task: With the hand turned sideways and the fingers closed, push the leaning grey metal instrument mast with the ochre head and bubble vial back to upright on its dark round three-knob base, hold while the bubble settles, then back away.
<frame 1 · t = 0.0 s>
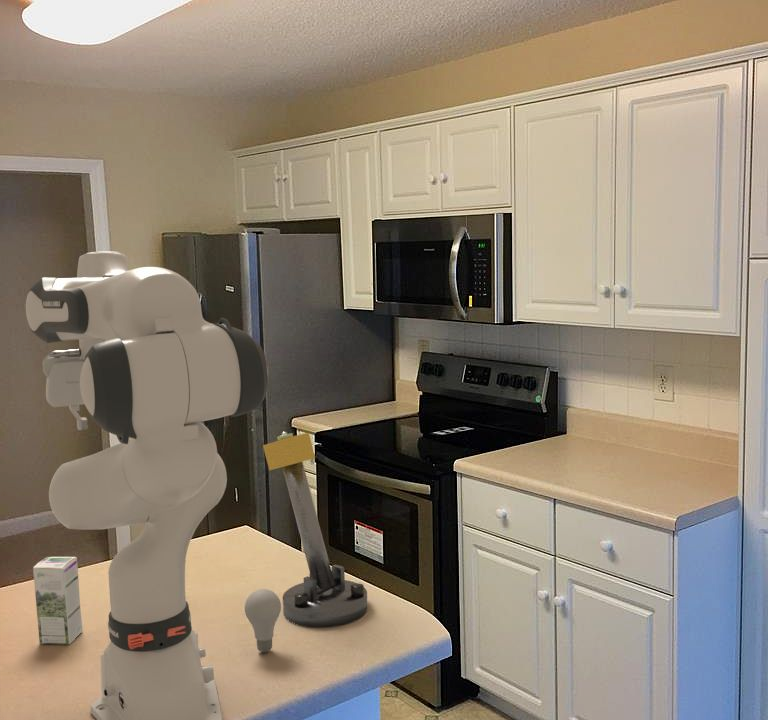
hand: (111, 425, 150), 39 cm above the counter, tool pointing down, fingers open, 8 cm apart
syrup box: (61, 639, 156), on the counter
lightbulb: (265, 653, 148), on the counter
instrument mast: (304, 510, 166), point 19 cm above the counter, hinge at 18.0°
tribrach base: (325, 609, 165), on the counter
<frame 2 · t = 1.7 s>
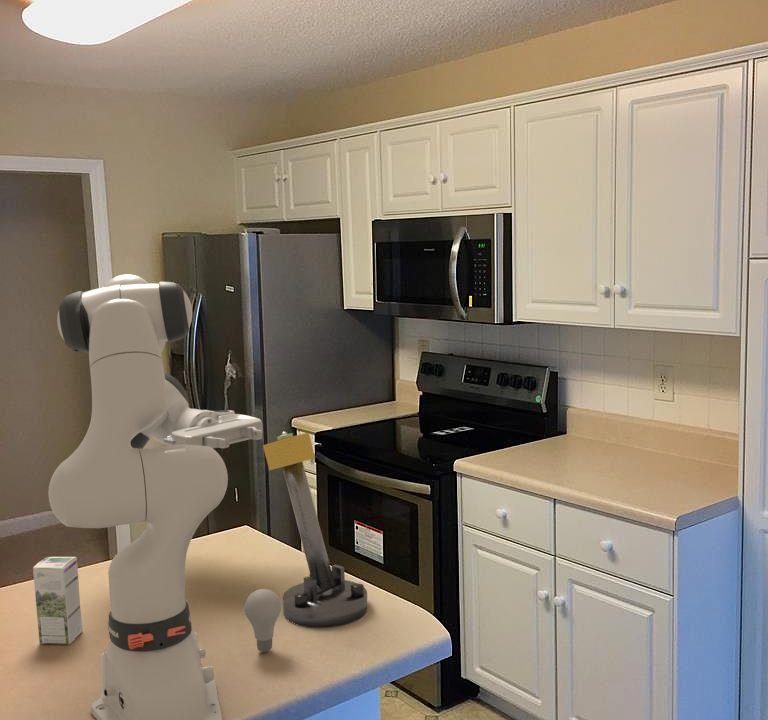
hand: (243, 439, 175), 31 cm above the counter, tool horizontal, fingers open, 7 cm apart
nothing on the counter moved.
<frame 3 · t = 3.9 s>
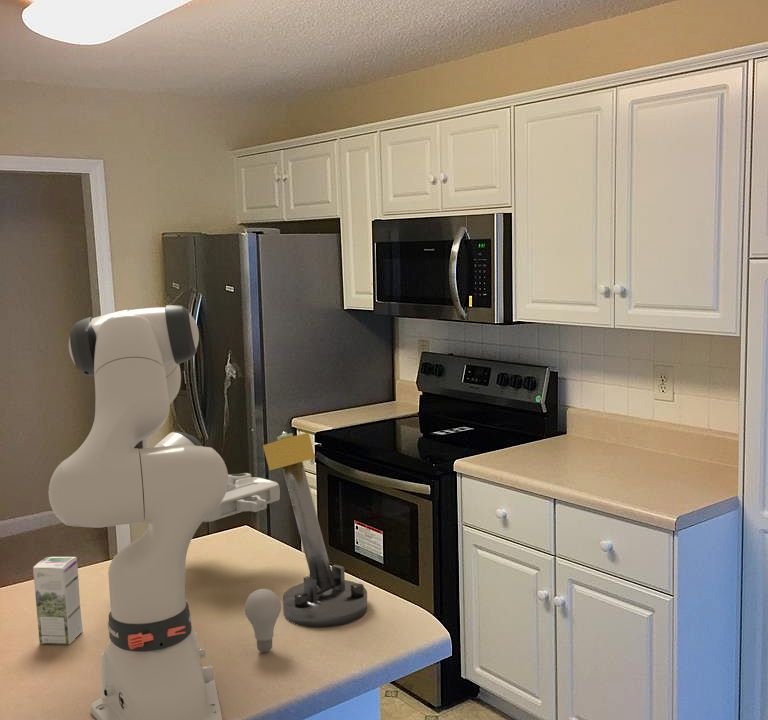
hand: (261, 506, 174), 17 cm above the counter, tool horizontal, fingers closed
nothing on the counter moved.
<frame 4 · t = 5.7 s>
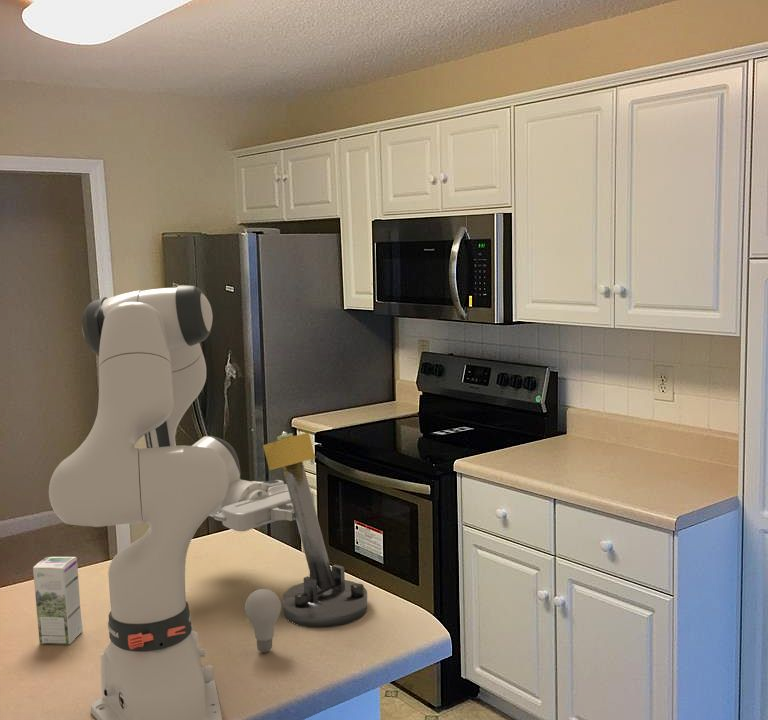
hand: (297, 515, 167), 17 cm above the counter, tool horizontal, fingers closed, pressing on instrument mast
instrument mast: (304, 510, 166), point 19 cm above the counter, hinge at 17.9°, touching gripper
everything else where it was.
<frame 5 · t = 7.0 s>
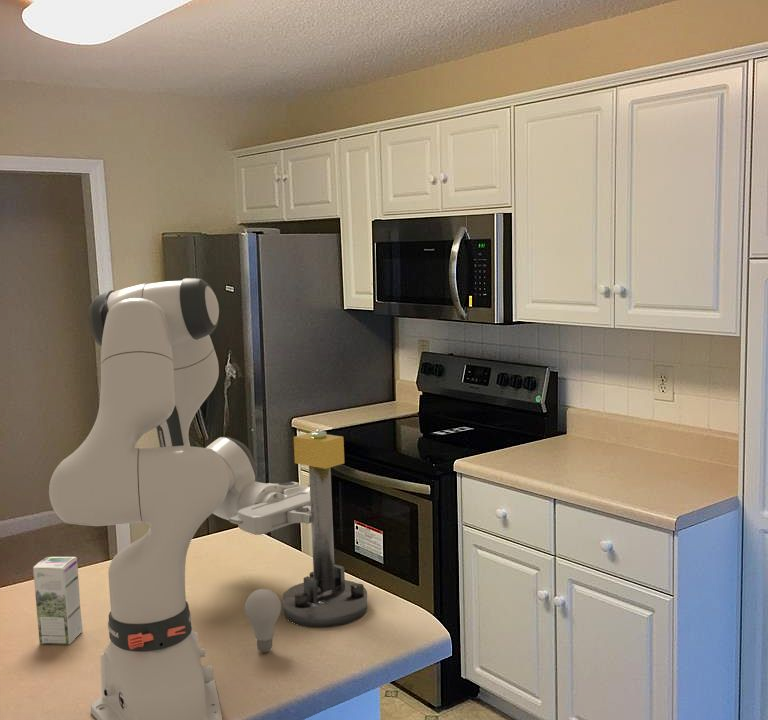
hand: (314, 517, 164), 18 cm above the counter, tool horizontal, fingers closed, pressing on instrument mast
instrument mast: (321, 511, 163), point 19 cm above the counter, hinge at 0.3°, touching gripper
everything else where it was.
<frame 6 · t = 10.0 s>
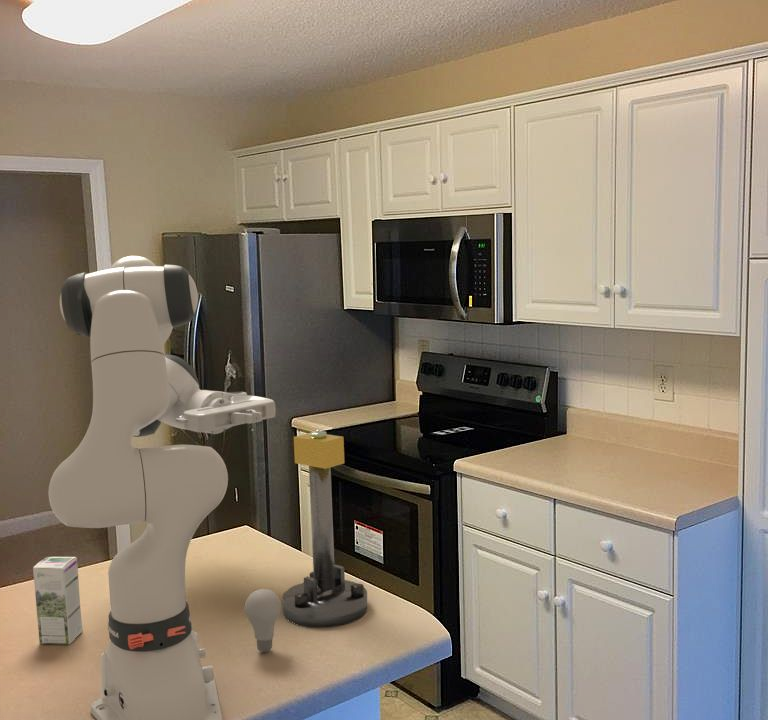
hand: (256, 418, 172), 35 cm above the counter, tool horizontal, fingers closed
instrument mast: (321, 511, 163), point 19 cm above the counter, hinge at 0.2°
everything else where it was.
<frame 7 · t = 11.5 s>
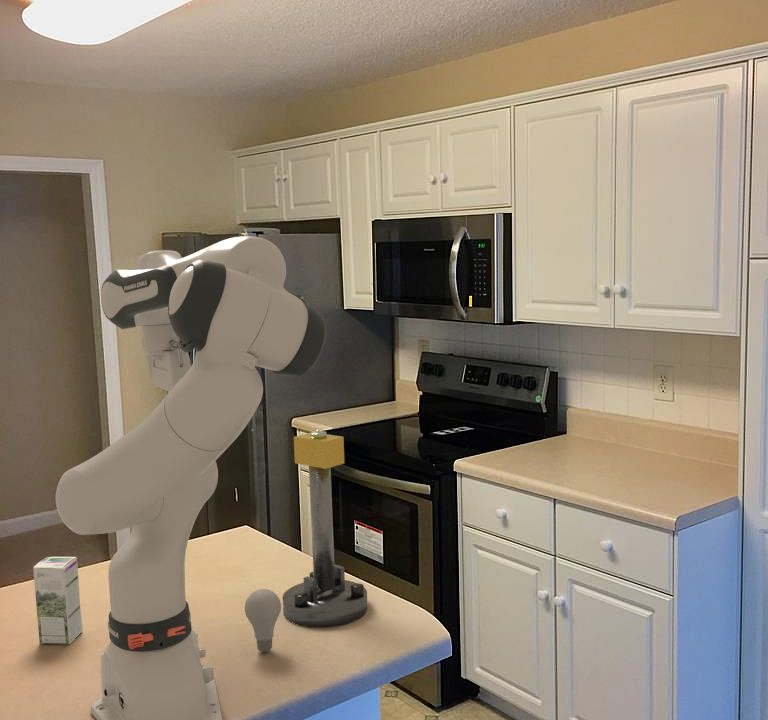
hand: (174, 413, 161), 39 cm above the counter, tool pointing down, fingers closed
nothing on the counter moved.
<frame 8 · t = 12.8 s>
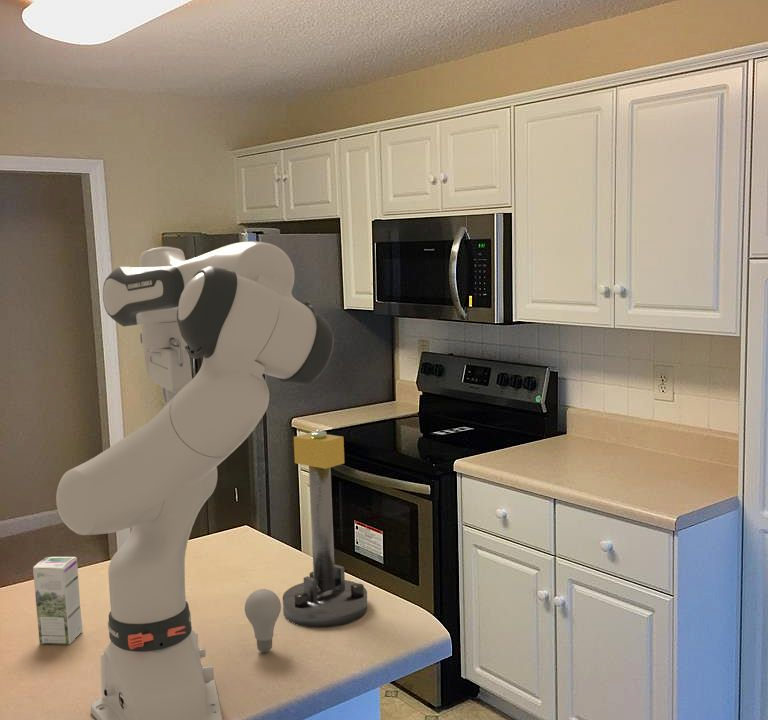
hand: (171, 410, 161), 39 cm above the counter, tool pointing down, fingers closed
nothing on the counter moved.
at the end: instrument mast at +0° (first picture: +18°); instrument mast tilted 0° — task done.
